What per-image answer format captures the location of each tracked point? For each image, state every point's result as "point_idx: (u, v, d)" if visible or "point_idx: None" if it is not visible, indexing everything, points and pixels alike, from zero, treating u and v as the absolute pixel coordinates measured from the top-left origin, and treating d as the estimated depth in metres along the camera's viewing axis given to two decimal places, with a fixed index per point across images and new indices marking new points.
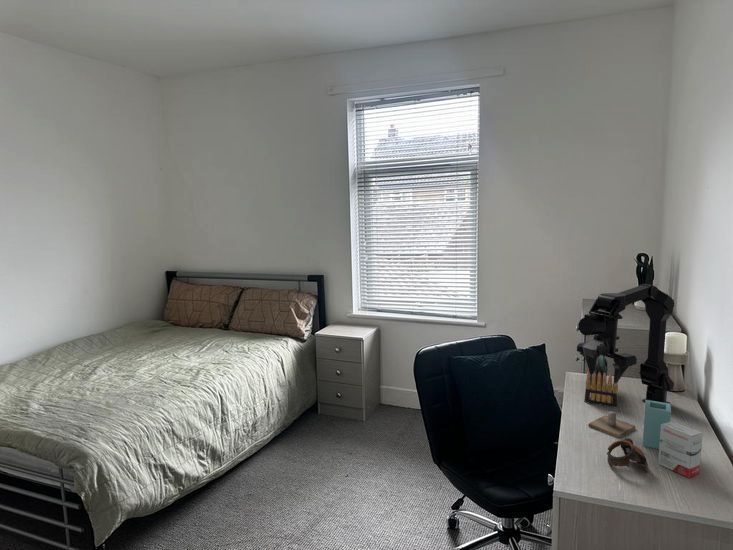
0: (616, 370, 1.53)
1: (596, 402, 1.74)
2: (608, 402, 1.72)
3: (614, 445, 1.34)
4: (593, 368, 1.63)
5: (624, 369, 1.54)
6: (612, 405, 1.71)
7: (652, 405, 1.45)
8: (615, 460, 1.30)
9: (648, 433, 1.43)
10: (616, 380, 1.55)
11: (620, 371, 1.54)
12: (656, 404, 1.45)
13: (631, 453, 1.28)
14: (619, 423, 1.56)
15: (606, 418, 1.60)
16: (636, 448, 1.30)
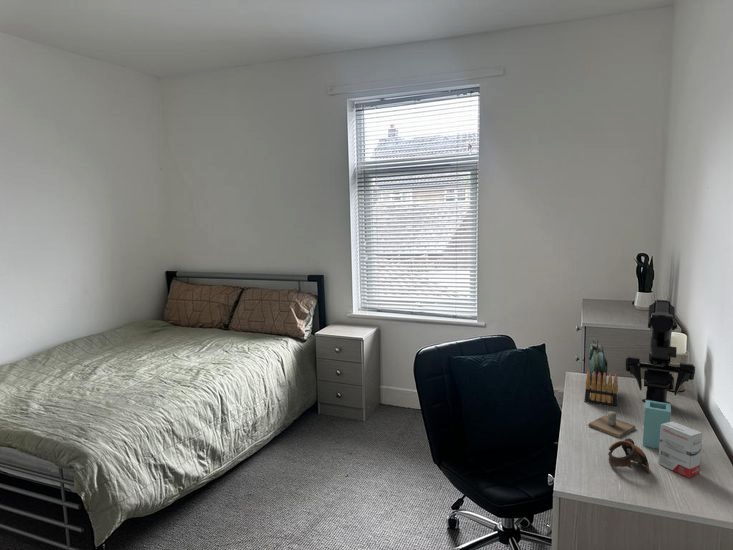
0: (679, 379, 1.48)
1: (596, 402, 1.74)
2: (608, 402, 1.72)
3: (615, 445, 1.34)
4: (641, 384, 1.53)
5: (681, 383, 1.50)
6: (612, 405, 1.71)
7: (652, 405, 1.45)
8: (617, 460, 1.29)
9: (648, 433, 1.43)
10: (677, 391, 1.47)
11: (680, 383, 1.49)
12: (656, 404, 1.45)
13: (632, 453, 1.28)
14: (619, 423, 1.56)
15: (606, 418, 1.60)
16: (637, 448, 1.30)
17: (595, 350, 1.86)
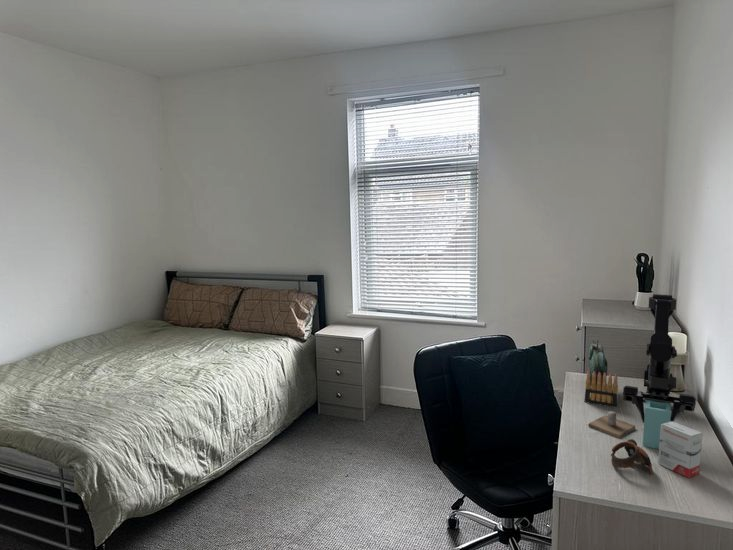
0: (674, 411, 1.42)
1: (596, 402, 1.74)
2: (608, 402, 1.72)
3: (618, 446, 1.34)
4: None
5: (676, 414, 1.43)
6: (612, 405, 1.71)
7: (652, 405, 1.45)
8: (620, 461, 1.29)
9: (648, 433, 1.43)
10: None
11: None
12: (656, 404, 1.45)
13: (635, 454, 1.27)
14: (619, 423, 1.56)
15: (606, 418, 1.60)
16: (640, 449, 1.30)
17: (595, 350, 1.86)
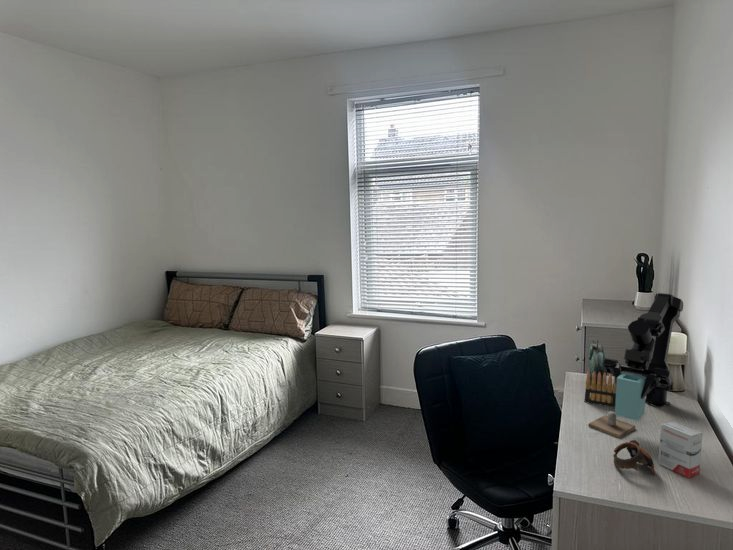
0: (647, 383, 1.46)
1: (596, 402, 1.74)
2: (608, 402, 1.72)
3: (620, 447, 1.33)
4: None
5: (652, 387, 1.47)
6: (612, 405, 1.71)
7: (629, 377, 1.50)
8: (622, 462, 1.28)
9: (619, 403, 1.48)
10: (643, 395, 1.45)
11: (649, 387, 1.46)
12: (632, 376, 1.50)
13: (638, 455, 1.27)
14: (619, 423, 1.56)
15: (606, 418, 1.60)
16: (643, 450, 1.29)
17: (595, 350, 1.86)
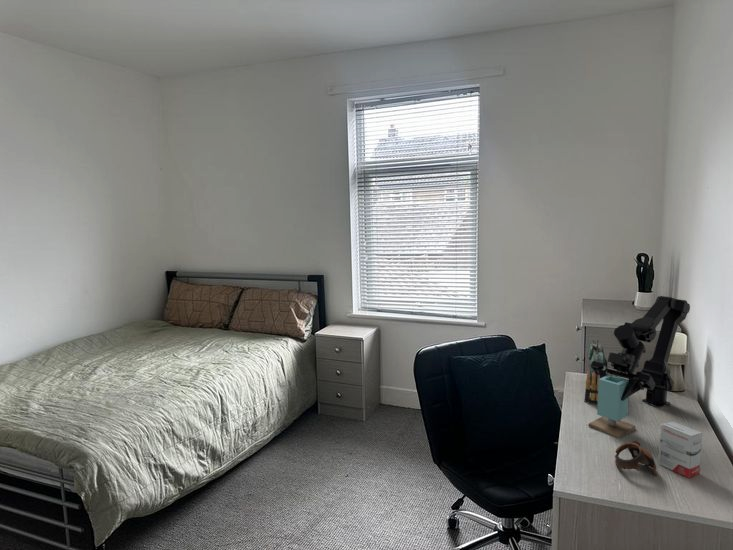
0: (628, 386, 1.50)
1: (596, 402, 1.74)
2: None
3: (622, 448, 1.33)
4: None
5: (634, 390, 1.51)
6: None
7: (613, 379, 1.55)
8: (624, 463, 1.28)
9: (601, 403, 1.54)
10: (624, 397, 1.50)
11: (631, 390, 1.51)
12: (616, 379, 1.55)
13: (640, 456, 1.27)
14: (619, 423, 1.56)
15: (606, 418, 1.60)
16: (644, 451, 1.29)
17: (595, 350, 1.86)
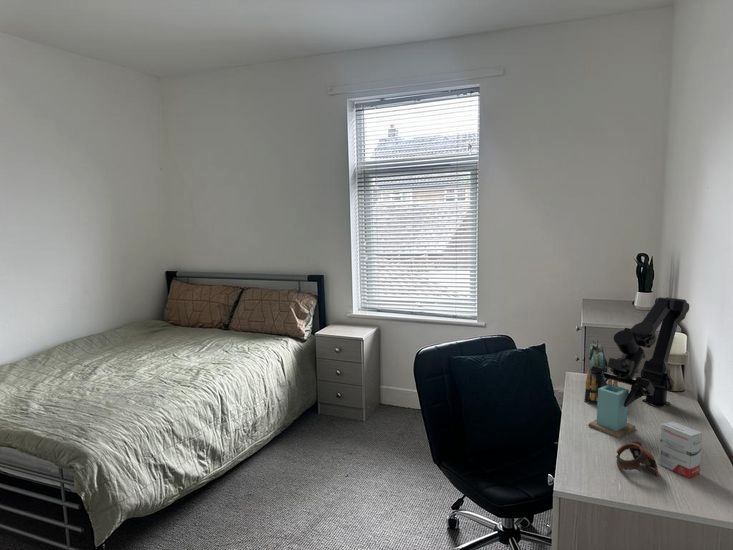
0: (631, 392, 1.50)
1: (596, 402, 1.74)
2: None
3: (623, 448, 1.33)
4: None
5: (637, 397, 1.51)
6: None
7: (612, 389, 1.56)
8: (625, 463, 1.28)
9: (600, 413, 1.55)
10: (626, 403, 1.50)
11: (633, 396, 1.50)
12: (615, 388, 1.55)
13: (641, 456, 1.26)
14: None
15: None
16: (646, 451, 1.29)
17: (595, 350, 1.86)
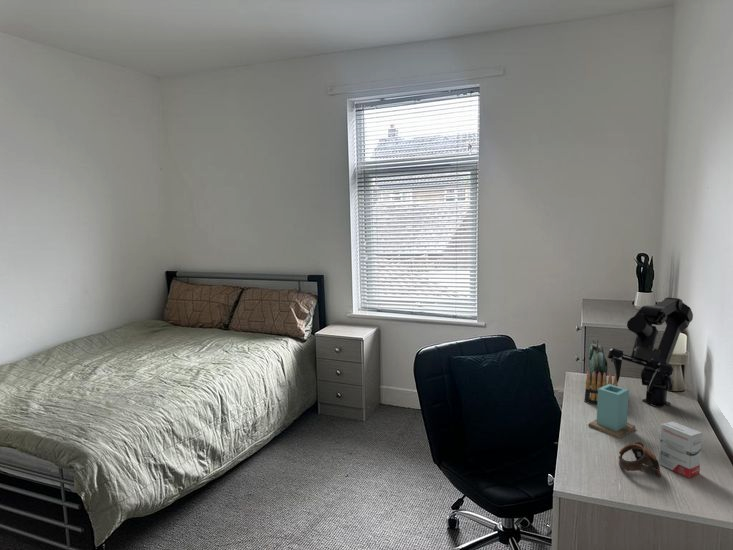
0: (655, 378, 1.55)
1: (596, 402, 1.74)
2: None
3: (625, 449, 1.32)
4: None
5: None
6: None
7: (612, 389, 1.56)
8: (628, 464, 1.27)
9: (600, 413, 1.55)
10: (650, 389, 1.56)
11: None
12: (615, 388, 1.55)
13: (644, 457, 1.26)
14: None
15: None
16: (648, 452, 1.28)
17: (595, 350, 1.86)
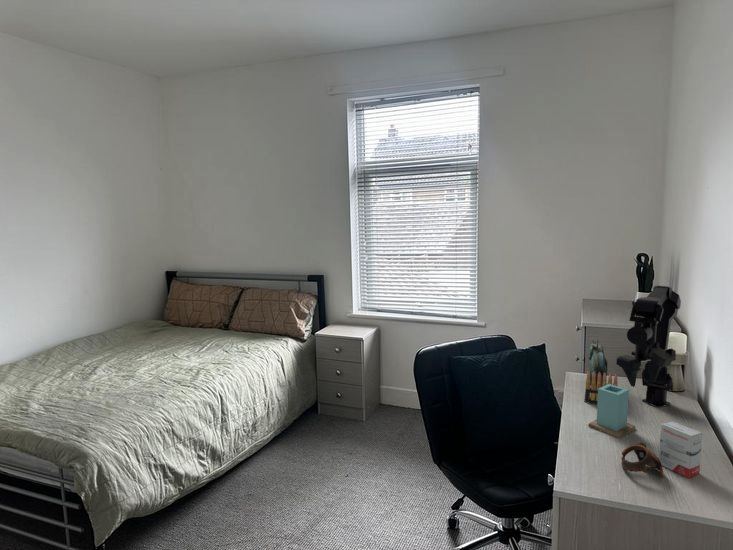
0: (659, 369, 1.57)
1: (596, 402, 1.74)
2: None
3: (628, 450, 1.32)
4: None
5: None
6: None
7: (612, 389, 1.56)
8: (631, 465, 1.27)
9: (600, 413, 1.55)
10: None
11: None
12: (615, 388, 1.55)
13: (647, 458, 1.25)
14: None
15: None
16: (651, 453, 1.28)
17: (595, 350, 1.86)
